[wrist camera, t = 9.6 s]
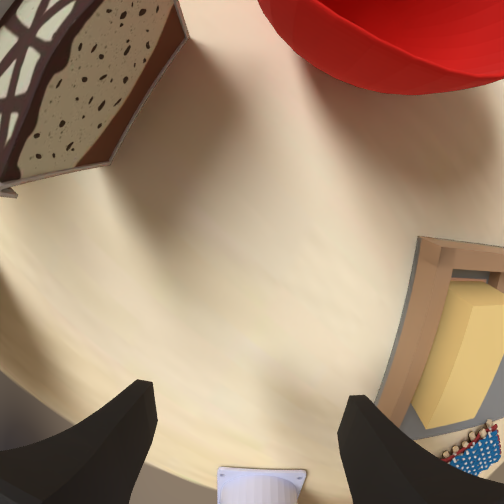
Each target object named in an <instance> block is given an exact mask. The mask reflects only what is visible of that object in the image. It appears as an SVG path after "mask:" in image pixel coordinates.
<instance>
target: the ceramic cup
mask: <svg viewBox="0 0 504 504" xmlns="http://www.w3.org/2000/svg"><path fill="white" fill-rule="evenodd" d="M258 2H259V5H260V7H261V9H262V11H263V13H264V14H265V16H266V17H267V19H268V20H269V22H270V23H271V24H272V26H273V27H274V29H275V30H276V32H277V33H278V35H279V36H280V37H281V38H282V39H283V40H284V41H285V42H286V43H287V44H288V45H289V46H290V47H291V48H292V49H293V50H294V51H295V52H296V53H297V54H298V55H300V56H301V57H302V58H304V59H305V60H306V61H308V62H309V63H310V64H312V65H313V66H314V67H316V68H318V69H320V70H321V71H323V72H325V73H327V74H329V75H330V76H332V77H334V78H336V79H338V80H341V81H344V82H346V83H349V84H351V85H354V86H356V87H360V88H364V89H368V90H372V91H376V92H380V93H387V94H402V95H423V94H432V93H441V92H450V91H456V90H462V89H468V88H472V87H477V86H482V85H486V84H489V83H493V82H495V81H498V80H501V79H504V0H258Z"/></svg>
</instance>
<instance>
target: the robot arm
mask: <svg viewBox="0 0 504 504" xmlns="http://www.w3.org/2000/svg"><path fill="white" fill-rule="evenodd" d="M157 422H158V419H157V412H156V405H155V397H154V389H153V382H149V381H144V380H138V379H137V380H136V381H134V382H133V383H132V384H131V385H129V386H128V387H127V388H126V389H125V390H123V391H122V392H121V393H120V394H118V395H117V396H116V397H115V398H113V399H112V400H111V401H110V402H108V403H107V404H106V405H104V406H103V407H102V408H100V409H99V410H98V411H96V412H95V413H93V414H92V415H90V416H89V417H87V418H86V419H84V420H83V421H81V422H80V423H78V424H76V425H75V426H73V427H71V428H69V429H67V430H65V431H63V432H61V433H59V434H57V435H55V436H52V437H49V438H47V439H45V440H42V441H39V442H37V443H33V444H30V445H27V446H23V447H19V448H16V449H11V450H5V451H0V504H129V500H130V496H131V493H132V490H133V487H134V485H135V482H136V480H137V477H138V475H139V473H140V470H141V468H142V465H143V463H144V461H145V458H146V456H147V453H148V451H149V449H150V446H151V444H152V441H153V437H154V433H155V430H156V426H157ZM337 434H338V442H339V449H340V456H341V459H342V463H343V467H344V470H345V474H346V477H347V481H348V485H349V488H350V492H351V495H352V499H353V504H504V484H503V483H498V482H495V481H491V480H487V479H483V478H480V477H477V476H475V475H472V474H469V473H467V472H464V471H462V470H460V469H458V468H456V467H454V466H452V465H450V464H448V463H446V462H444V461H442V460H441V459H439V458H437V457H436V456H434V455H433V454H431V453H430V452H428V451H426V450H425V449H424V448H422V447H421V446H419V445H418V444H417V443H416V442H414V441H413V440H412V439H411V438H409V437H408V436H407V435H406V434H405V433H404V432H402V431H401V430H400V429H399V428H398V427H397V426H396V425H395V424H394V423H393V422H392V421H390V420H389V419H388V418H387V417H386V416H385V415H384V414H383V413H382V412H381V411H380V410H379V409H378V408H377V407H376V406H375V405H374V404H373V403H372V402H371V401H370V400H369V399H368V398H367V397H366V396H365V395H351V396H349V399H348V402H347V405H346V408H345V412H344V415H343V418H342V421H341V424H340V426H339V429H338V432H337ZM305 478H306V471H305V470H265V469H245V468H232V467H219V468H218V472H217V483H218V504H298V503H297V499H298V497H299V494H300V491H301V489H302V486H303V483H304V481H305Z"/></svg>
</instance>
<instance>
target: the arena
mask: <svg viewBox="0 0 504 504" xmlns="http://www.w3.org/2000/svg"><path fill="white" fill-rule="evenodd" d="M450 280H453V281H483V282H485V283H487V284H488V285H490V286H492V287H494V288H495V289H497V290H499V291H500V292H502V293H504V247H499V246H492V245H485V244H477V243H470V242H462V241H454V240H446V239H438V238H430V237H421V236H418V238H417V244H416V250H415V256H414V261H413V266H412V272H411V276H410V281H409V286H408V291H407V295H406V299H405V304H404V308H403V312H402V316H401V320H400V324H399V327H398V331H397V335H396V338H395V342H394V345H393V349H392V352H391V355H390V359H389V362H388V365H387V368H386V371H385V374H384V377H383V380H382V383H381V386H380V389H379V392H378V395H377V398H376V400H375V403H374V405H375V406H376V407H377V408H378V409H379V410H380V411H381V412H382V413H383V414H384V415H385V416H386V417H387V418H388V419H389V420H390V421H392V422H393V423H394V424H395V425H396V426H397V427H398V428H399V429H400V430H401V431H402V432H404V433H405V434H406V435H407V436H408V437H409V438H411V439H412V440H417V439H423V438H428V437H433V436H438V435H442V434H447V433H451V432H455V431H460V430H463V429H467V428H471V427H475V426H478V425H482V424H485V423H486V422H487V420H488V419H490V420H492V421H495V420H498V419H501V418H503V417H504V355H503V357H502V360H501V362H500V365H499V367H498V369H497V372H496V374H495V376H494V379H493V381H492V383H491V385H490V387H489V390H488V392H487V394H486V396H485V398H484V400H483V402H482V404H481V406H480V408H479V410H478V412H477V414H476V416H475V417H474V418H473V419H469V420H465V421H461V422H457V423H453V424H449V425H445V426H440V427H436V428H431V429H425V427H424V425H423V423H422V422H421V420H420V418H419V416H418V415H417V413H416V411H415V409H414V408H413V406H412V404H411V400H412V398H413V396H414V393H415V391H416V388H417V386H418V383H419V381H420V378H421V376H422V373H423V370H424V368H425V365H426V362H427V359H428V356H429V353H430V351H431V348H432V345H433V341H434V338H435V335H436V332H437V329H438V325H439V322H440V319H441V315H442V312H443V308H444V304H445V300H446V297H447V293H448V288H449V284H450Z"/></svg>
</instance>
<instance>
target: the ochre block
mask: <svg viewBox="0 0 504 504" xmlns="http://www.w3.org/2000/svg"><path fill="white" fill-rule="evenodd" d="M503 355H504V293H502V292H500V291H499V290H497V289H495V288H494V287H492V286H490V285H488V284H487V283H485V282H483V281H453V280H450V284H449V288H448V293H447V297H446V300H445V304H444V308H443V312H442V315H441V319H440V322H439V325H438V329H437V332H436V335H435V338H434V341H433V345H432V348H431V351H430V353H429V356H428V359H427V362H426V365H425V368H424V370H423V373H422V376H421V378H420V381H419V383H418V386H417V388H416V391H415V393H414V396H413V398H412V400H411V404H412V406H413V408H414V409H415V411H416V413H417V415H418V416H419V418H420V420H421V422H422V423H423V425H424V427H425V429H431V428H436V427H440V426H445V425H449V424H453V423H457V422H461V421H465V420H469V419H473V418H474V417H475V416H476V414H477V412H478V410H479V408H480V406H481V404H482V402H483V400H484V398H485V396H486V394H487V392H488V390H489V387H490V385H491V383H492V381H493V379H494V376H495V374H496V372H497V369H498V367H499V365H500V362H501V360H502V357H503Z"/></svg>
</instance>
